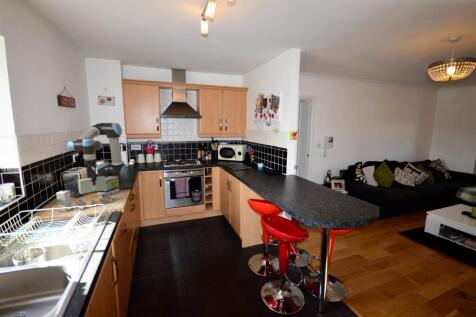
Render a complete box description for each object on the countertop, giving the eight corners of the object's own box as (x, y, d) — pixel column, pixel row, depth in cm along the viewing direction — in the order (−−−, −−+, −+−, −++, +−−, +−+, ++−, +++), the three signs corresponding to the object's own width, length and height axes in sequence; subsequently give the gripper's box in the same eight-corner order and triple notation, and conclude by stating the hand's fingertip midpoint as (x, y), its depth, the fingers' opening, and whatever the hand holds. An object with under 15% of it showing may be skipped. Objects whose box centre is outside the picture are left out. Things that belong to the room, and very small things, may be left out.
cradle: (106, 198, 181) (106, 192, 180) (112, 202, 174) (112, 195, 173) (75, 206, 164) (74, 199, 163) (80, 210, 157) (79, 203, 156)
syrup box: (72, 208, 159) (70, 190, 157) (66, 212, 153) (64, 192, 151) (64, 208, 159) (62, 190, 157) (58, 212, 153) (55, 192, 151)
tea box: (107, 196, 187) (105, 180, 184) (97, 195, 189) (95, 179, 186) (119, 191, 201) (118, 176, 199) (110, 190, 203) (109, 175, 201)
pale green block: (103, 187, 175) (102, 175, 174) (106, 188, 172) (105, 176, 170) (79, 192, 162) (77, 179, 160) (81, 194, 159) (79, 181, 157)
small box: (84, 195, 188) (82, 182, 187) (76, 198, 182) (74, 184, 180) (73, 194, 192) (71, 181, 190) (65, 196, 186) (63, 183, 184)
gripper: (80, 158, 166) (83, 187, 169) (88, 161, 155) (91, 192, 158) (91, 157, 172) (94, 185, 175) (100, 160, 161) (102, 189, 164)
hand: (92, 188), depth 167 cm, fingers closed on pale green block, 5 cm apart
